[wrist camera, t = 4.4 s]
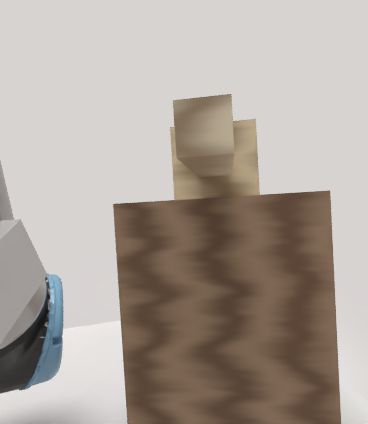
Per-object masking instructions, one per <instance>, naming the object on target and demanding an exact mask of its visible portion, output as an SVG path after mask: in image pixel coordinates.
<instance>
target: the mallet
mask: <svg viewBox="0 0 368 424" xmlns="http://www.w3.org/2000/svg"><path fill="white" fill-rule="evenodd" d="M173 108H174V125H175V127H170V131H171V148H172V165H173V181H174V198H175V200H187V199H203V198H220V197H236V196H252V195H260V193H259V177H258V176H259V175H258V156H257V135H256V120H255V119H251V120H242V121H233V117H232V99H231V94H227V95H218V96H209V97H200V98H191V99H181V100H174V101H173Z"/></svg>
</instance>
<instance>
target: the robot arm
mask: <svg viewBox="0 0 368 424" xmlns="http://www.w3.org/2000/svg"><path fill="white" fill-rule="evenodd" d="M62 334H63V290H62V282H61V279H60V278H59V277H58V276H57V275H49V274H47V273H46V271H45V269H44V267H43V265H42V263H41V261H40V259H39V257H38V255H37V253H36V251H35V248H34V246H33V245H32V242H31V240H30V238H29V236H28V234H27V232H26V230H25V228H24V226H23V224H22V222H21V220H14V218H13V214H12V209H11V205H10V201H9V197H8V192H7V188H6V184H5V180H4V175H3V171H2V166H1V162H0V394H1V393H5V392H9V391H13V390H17V389H19V390H25V389H28V388H29V387H31V386H32V385H35V384H39V383H42V382H46V381H48V380H50V379H52V378H53V377H54V376H55V375H56V374H57V372H58V370H59V368H60V364H61V357H62Z"/></svg>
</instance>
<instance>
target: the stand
mask: <svg viewBox="0 0 368 424" xmlns="http://www.w3.org/2000/svg"><path fill="white" fill-rule="evenodd" d="M330 201H331V200H330V191H317V192H302V193H285V194H269V195H252V196H236V197H220V198H203V199H187V200H171V201H157V202H156V201H155V202H140V203H122V204H113V205H114V206H113V207H114V222H115V237H116V253H117V267H118V268H117V269H118V284H119V299H120V315H121V330H122V345H123V361H124V376H125V391H126V406H127V422H128V424H341V413H340V392H339V372H338V349H337V331H336V330H337V329H336V309H335V308H336V307H335V288H334V264H333V246H332V245H333V243H332V223H331V202H330Z"/></svg>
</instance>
